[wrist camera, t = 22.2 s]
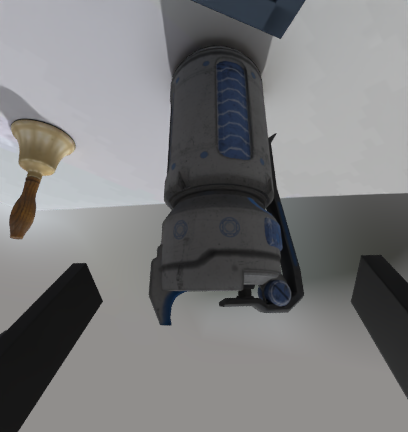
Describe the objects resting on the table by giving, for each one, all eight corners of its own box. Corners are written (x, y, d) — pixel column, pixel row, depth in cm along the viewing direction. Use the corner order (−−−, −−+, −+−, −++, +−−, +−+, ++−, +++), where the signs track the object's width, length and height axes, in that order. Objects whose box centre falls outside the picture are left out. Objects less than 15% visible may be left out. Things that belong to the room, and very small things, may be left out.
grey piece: (255, 125, 32) (272, 314, 24) (161, 108, 29) (146, 317, 21) (300, 57, 23) (351, 328, 15) (169, 22, 20) (147, 338, 12)
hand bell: (14, 142, 36) (-17, 240, 31) (7, 110, 30) (-33, 227, 25) (73, 158, 41) (54, 246, 36) (78, 133, 34) (56, 236, 29)
